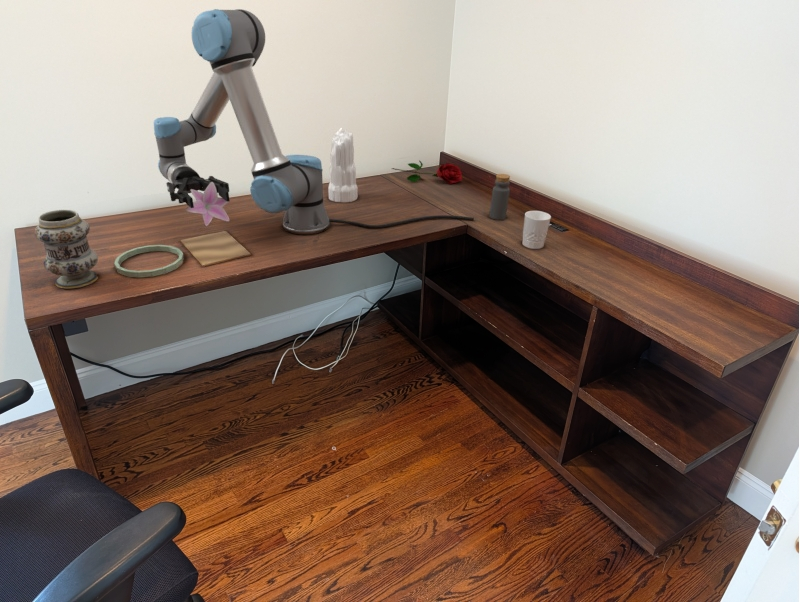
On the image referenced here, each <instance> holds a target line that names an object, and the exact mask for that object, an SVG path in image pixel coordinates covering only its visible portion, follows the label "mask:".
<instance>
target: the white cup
mask: <svg viewBox="0 0 800 602" xmlns="http://www.w3.org/2000/svg"><path fill="white" fill-rule="evenodd" d="M551 219H552V216H551V214H549V213H548V212H544V211H541V210H529V211H526V212H525V213H524V219H523V228H522V241H521V244H522V245H523V247H526V249H527V248H528V249H532V250H539V249H542V248H544V246H545V242H546V238H547V235H548V231H549V227H550V223H551Z"/></svg>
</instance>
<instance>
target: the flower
mask: <svg viewBox="0 0 800 602" xmlns="http://www.w3.org/2000/svg"><path fill="white" fill-rule="evenodd" d="M418 161H419V163H420V164H418V163H414V162H411V163H407V165H408V166H409V167H410V168H412V169H414V170H415V171H413V170H405V169H398V168H394V167H393V168H391V170H395V171H402V172H406V173H407V172H408V173H413V174H411V175H408V176H407V177H406V179H407V180H408V181H409V182H412V183H416V182H418V181H419V179H420V180H423V178H422V177H421V175H420V174H422V175H431V177H435V178H439V179H441V180H442V181H444V182H446V183H447V184H449V185H453V183H454V184H457V183H459V182H460V181H462V180H463V177H462V176H463V175H462V170H461V168H460V167H459V166H457V165H455V164H452V163H449V162H448V163H445V164H444V163H443V164H441V165H439V167H438V169H437V170H436V173H433V172H432V173H431V172H419V171H417V170H422V168H423V167H424V163H423V162H422V161H421V160H418Z"/></svg>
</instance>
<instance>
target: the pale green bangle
mask: <svg viewBox="0 0 800 602" xmlns="http://www.w3.org/2000/svg"><path fill="white" fill-rule="evenodd" d="M148 252H166V253H167V252H168V253H172V254H175V255H177V256H178V258H177V259H176V260H175V261H174V262H172V263H170V264H168V265H165V266H162V267H158V268H153V269H150V270H149V269H145V270H134V269H127V268H124V267H122V266H121V264H122V263H123V262H124V261H126V260H127V259H128V258H131V257H133V256H136V255H140V254H145V253H148ZM184 260H185V256H184V252H183V251H182V249H180V248H179V247H176V246H174V245H168V244H167V245H166V244H151V245H143V246H139V247H134V248H132V249H130V250H129V249H128V250H127V251H124V252H122V253H121V254H119V255H118V256H117V257H115V260H114V262H113V264H114V269H115V270H116V272H117V273H118V274H120V275H122V276H125V277H129V278H136V279H137V278H138V279H139V278H153V277H156V276H161V275H165V274H168V273H170V272H173V271H175V270H177V269H178V268H179V267H181V266H182V265H183V263H184Z"/></svg>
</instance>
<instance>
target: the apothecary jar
mask: <svg viewBox="0 0 800 602" xmlns="http://www.w3.org/2000/svg"><path fill="white" fill-rule="evenodd" d="M90 231H91V228H90V225H89V223H88V222H87V221H86V220H85V219H83V218H81V217H80V215H79V212H77V211H76V210H72V209H56V210H51V211H47V212H44V213H42V214H40V215H39V217H38V224H37V226H36V227H35V229H34V237H35V238H36V239H37V240H38V241H39V242H41V243H43V246H44V249H45V253H46V256H45V257H44V260H43V267H44V269H45V270H46V271H47V272H49V273H50V274H53V275H55V276H56V275H57V276H59V277H57V279H55V281H54V284H55V286H56V287H58V288H59V289H64V290H72V289H80V288H84V287H87V286H89V285H92V284H94V283H95V282H96V281H97V280H98V279H99V276H98V273H97V272H96V271H93V270H92V269H93V268H94V267H95V266H96V265H97V263H98V260H99V255H98V254H97V252H96V251H94V249H92V248H91V247H90V244H89V240H88V234H89V233H90Z"/></svg>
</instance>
